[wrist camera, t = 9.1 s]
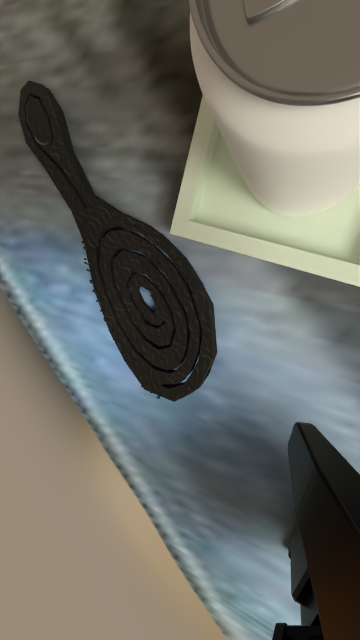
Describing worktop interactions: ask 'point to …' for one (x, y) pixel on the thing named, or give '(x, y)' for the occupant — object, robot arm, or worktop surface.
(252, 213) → the tray
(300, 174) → the can
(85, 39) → the worktop surface
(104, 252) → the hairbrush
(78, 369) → the worktop surface
